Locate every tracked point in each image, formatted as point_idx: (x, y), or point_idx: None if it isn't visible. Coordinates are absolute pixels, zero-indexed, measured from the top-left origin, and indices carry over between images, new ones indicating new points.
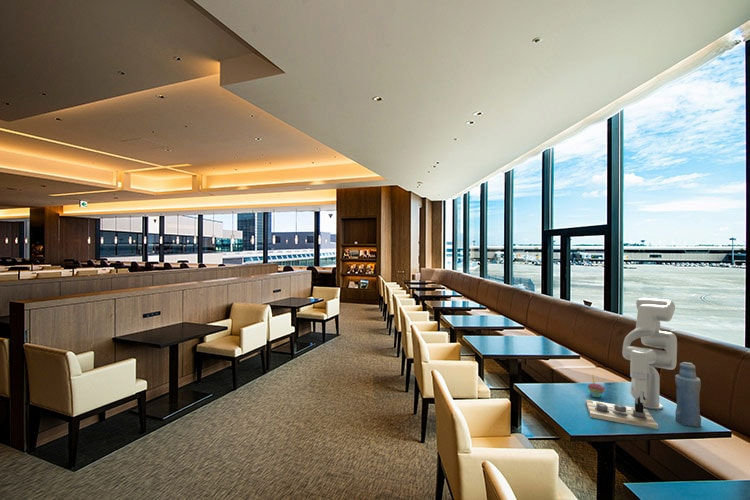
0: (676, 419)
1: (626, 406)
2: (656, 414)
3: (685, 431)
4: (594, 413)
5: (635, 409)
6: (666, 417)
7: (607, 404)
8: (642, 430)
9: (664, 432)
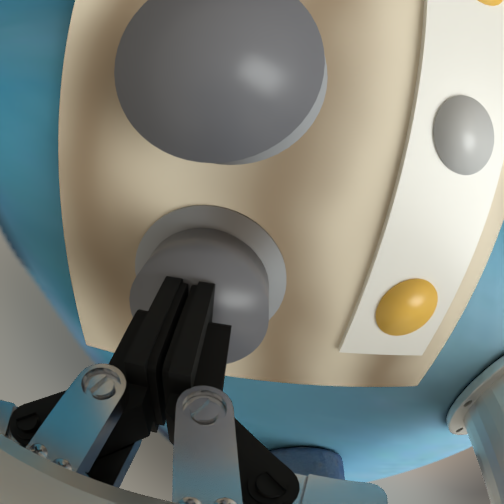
0: (299, 454)
1: (482, 258)
2: (391, 402)
3: (165, 428)
4: None
5: (168, 291)
6: (350, 428)
7: (490, 51)
8: (20, 206)
9: (74, 335)
